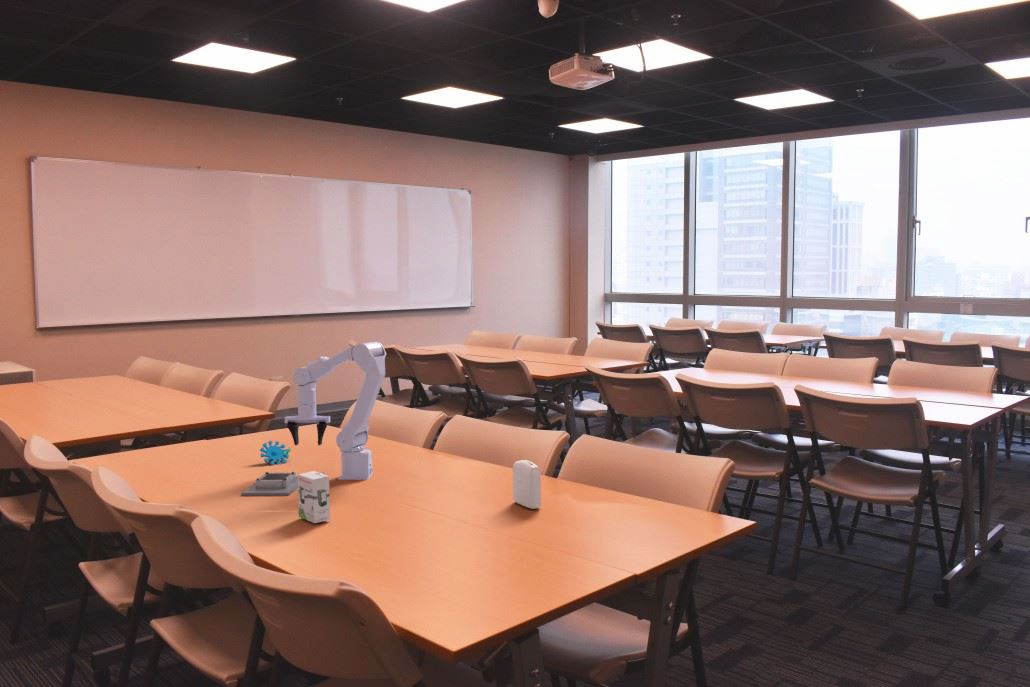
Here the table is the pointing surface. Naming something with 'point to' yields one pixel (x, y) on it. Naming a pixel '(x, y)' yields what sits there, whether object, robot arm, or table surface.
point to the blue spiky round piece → (275, 453)
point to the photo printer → (526, 484)
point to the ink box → (314, 496)
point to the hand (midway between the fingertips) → (308, 444)
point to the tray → (273, 485)
